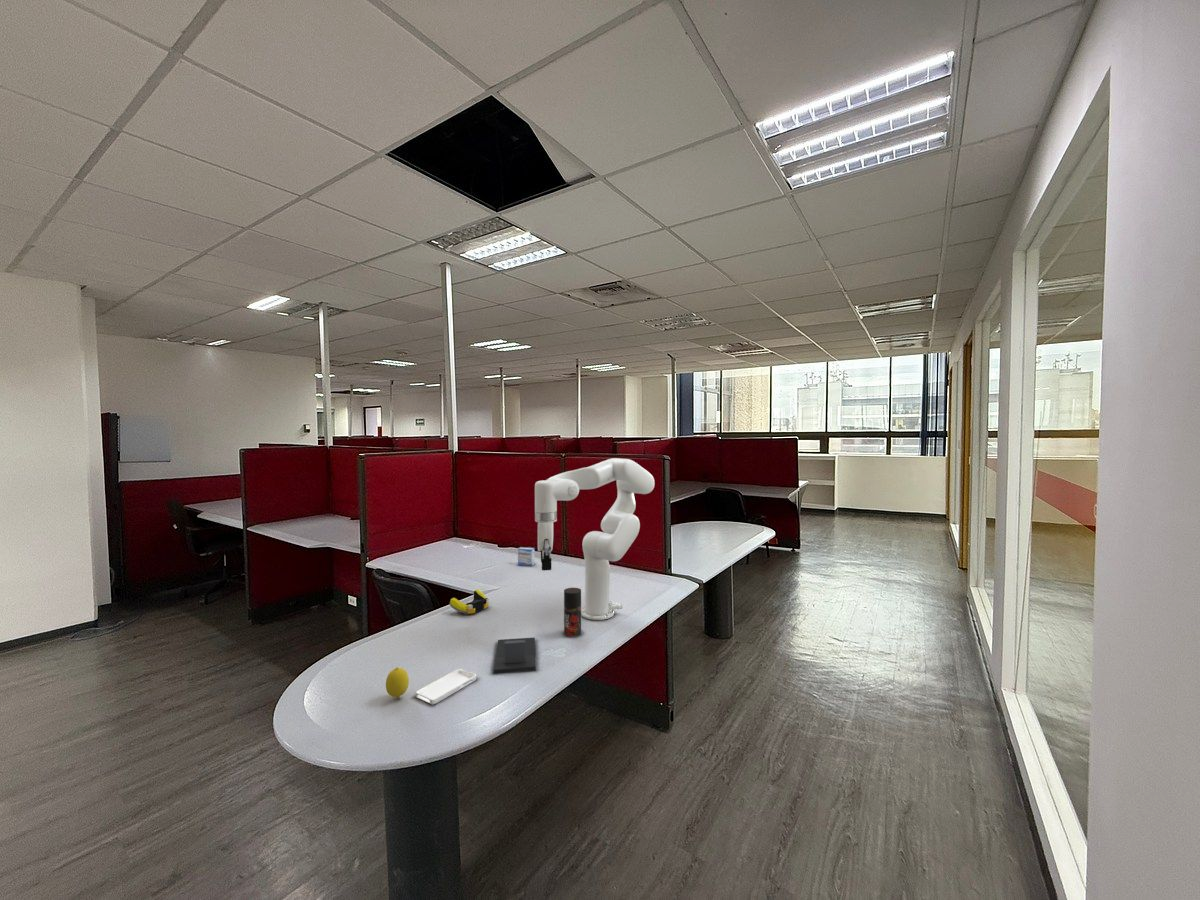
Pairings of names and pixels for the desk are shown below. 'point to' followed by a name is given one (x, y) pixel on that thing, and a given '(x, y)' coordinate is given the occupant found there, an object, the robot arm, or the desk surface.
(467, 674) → the phone case
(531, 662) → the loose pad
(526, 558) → the blue and white box
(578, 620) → the deodorant
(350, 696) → the desk surface
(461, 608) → the gaming controller
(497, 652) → the base pad
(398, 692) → the lemon
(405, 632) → the desk surface
